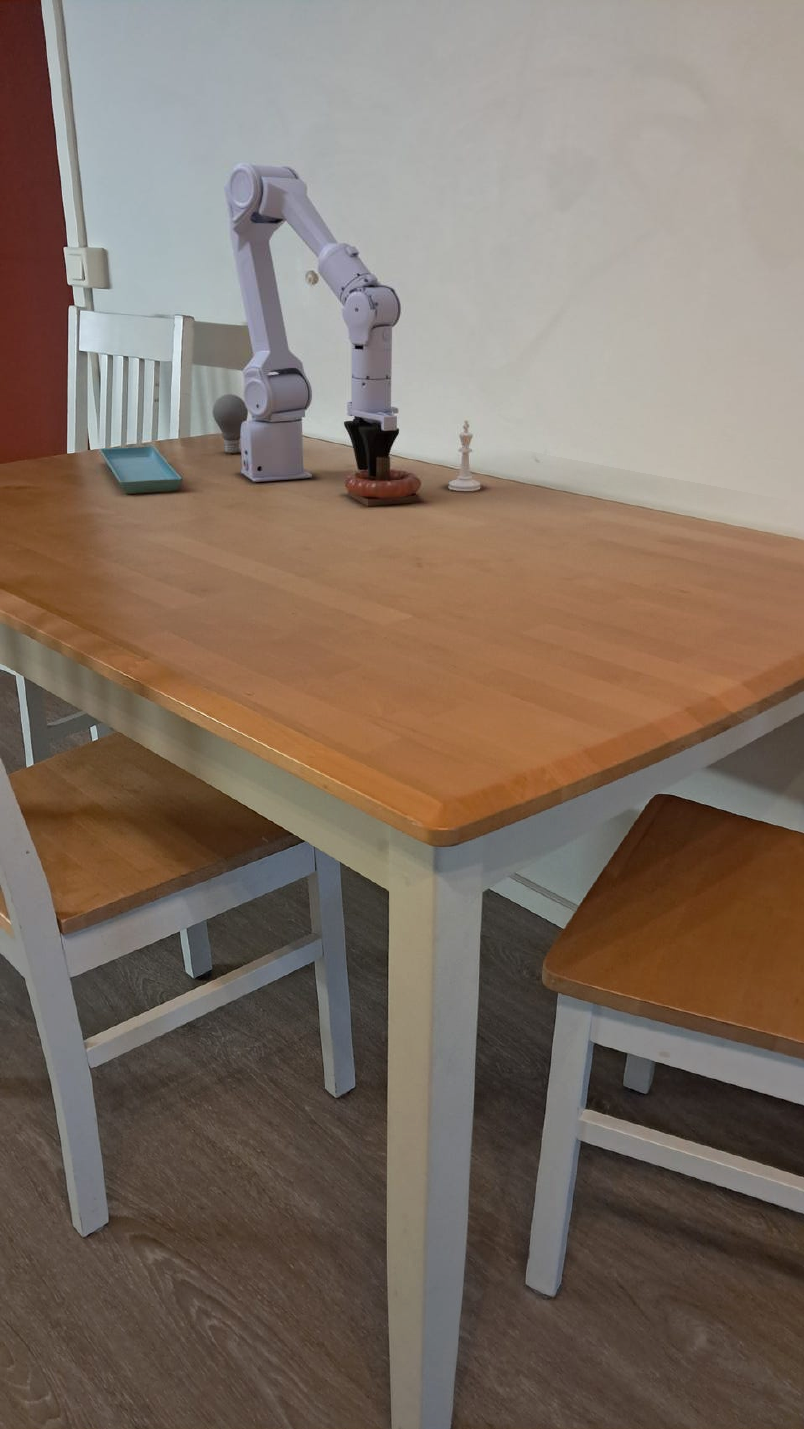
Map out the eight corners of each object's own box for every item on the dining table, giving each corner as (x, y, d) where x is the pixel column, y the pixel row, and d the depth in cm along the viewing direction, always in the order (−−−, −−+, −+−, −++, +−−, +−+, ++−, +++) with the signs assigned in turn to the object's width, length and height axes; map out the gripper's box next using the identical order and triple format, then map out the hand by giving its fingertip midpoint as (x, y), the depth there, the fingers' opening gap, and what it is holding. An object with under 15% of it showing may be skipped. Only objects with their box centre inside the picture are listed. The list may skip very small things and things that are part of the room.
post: (367, 506, 150) (367, 463, 148) (347, 495, 157) (347, 453, 155) (419, 502, 153) (420, 459, 151) (397, 490, 160) (398, 450, 158)
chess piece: (443, 489, 161) (445, 421, 157) (453, 483, 165) (455, 417, 161) (475, 492, 159) (477, 424, 155) (484, 486, 164) (487, 419, 160)
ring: (361, 502, 148) (360, 485, 147) (336, 486, 158) (335, 470, 157) (432, 496, 152) (432, 479, 151) (403, 481, 161) (403, 465, 160)
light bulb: (221, 449, 190) (217, 391, 186) (253, 450, 190) (250, 392, 186) (211, 455, 185) (207, 396, 181) (244, 456, 184) (241, 397, 180)
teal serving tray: (183, 492, 158) (182, 475, 157) (121, 496, 155) (119, 479, 154) (155, 460, 180) (154, 445, 179) (100, 463, 177) (98, 448, 176)
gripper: (417, 382, 148) (415, 480, 153) (378, 370, 160) (377, 461, 165) (370, 384, 145) (369, 484, 151) (333, 371, 157) (334, 464, 163)
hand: (370, 472), depth 158 cm, fingers open, 4 cm apart
